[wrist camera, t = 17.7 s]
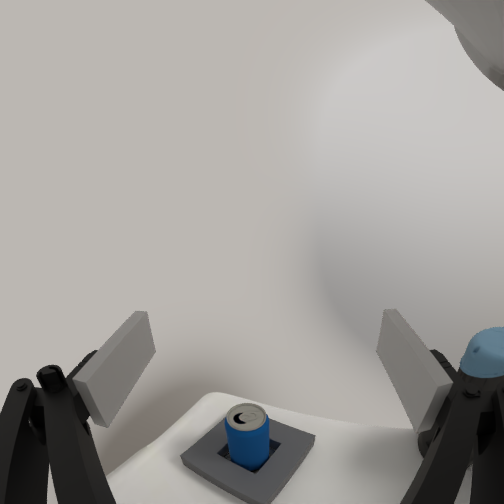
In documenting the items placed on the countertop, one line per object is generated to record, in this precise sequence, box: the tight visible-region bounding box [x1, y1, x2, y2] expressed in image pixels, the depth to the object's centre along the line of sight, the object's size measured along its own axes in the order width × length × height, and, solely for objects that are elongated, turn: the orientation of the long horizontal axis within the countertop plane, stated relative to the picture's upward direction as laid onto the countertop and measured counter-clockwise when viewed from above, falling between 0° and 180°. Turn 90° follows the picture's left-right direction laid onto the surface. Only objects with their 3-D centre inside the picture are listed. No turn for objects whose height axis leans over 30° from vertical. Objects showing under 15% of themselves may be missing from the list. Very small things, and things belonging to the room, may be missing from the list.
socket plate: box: [180, 417, 316, 504], centre depth 38 cm, size 16×16×3 cm
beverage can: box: [224, 403, 269, 471], centre depth 36 cm, size 6×6×12 cm
